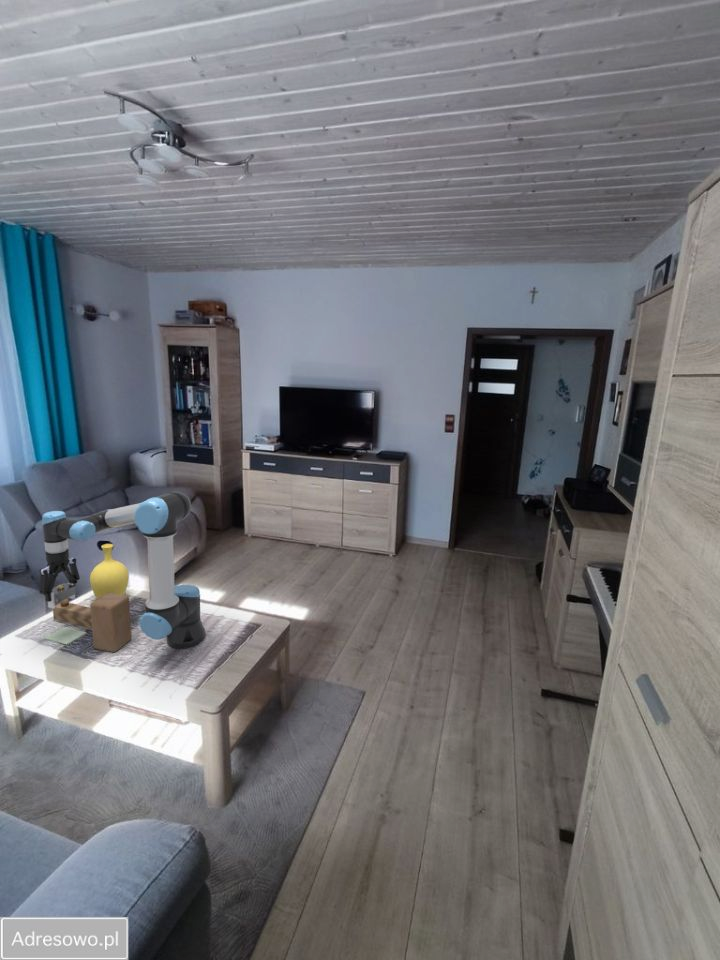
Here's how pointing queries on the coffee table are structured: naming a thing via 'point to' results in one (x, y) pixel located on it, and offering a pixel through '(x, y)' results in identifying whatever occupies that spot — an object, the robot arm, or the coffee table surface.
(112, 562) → the vase
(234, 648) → the coffee table surface
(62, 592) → the lever cap
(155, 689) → the coffee table surface
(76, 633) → the felt mat
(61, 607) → the body
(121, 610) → the wooden block
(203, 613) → the coffee table surface
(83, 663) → the coffee table surface
